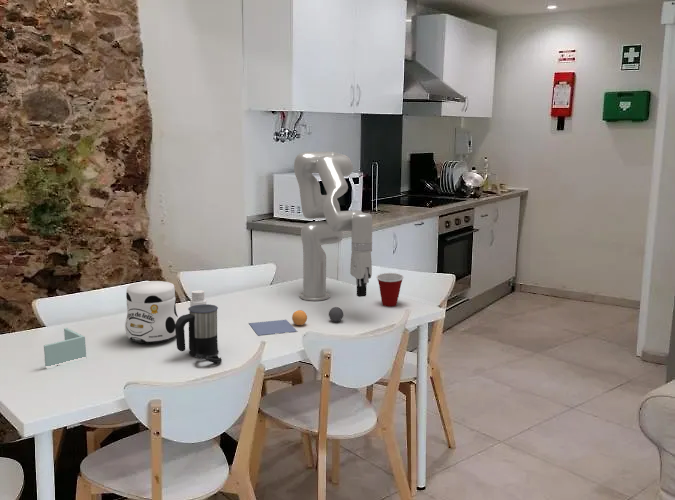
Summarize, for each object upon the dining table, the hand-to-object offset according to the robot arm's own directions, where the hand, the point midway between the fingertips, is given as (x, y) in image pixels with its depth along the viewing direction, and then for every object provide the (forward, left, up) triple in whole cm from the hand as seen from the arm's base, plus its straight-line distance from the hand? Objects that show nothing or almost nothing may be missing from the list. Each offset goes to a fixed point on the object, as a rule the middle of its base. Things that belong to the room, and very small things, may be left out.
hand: (361, 295), depth 240 cm
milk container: (-2, -75, -9) cm, 75 cm away
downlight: (-21, -57, -9) cm, 61 cm away
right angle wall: (+9, -104, -10) cm, 104 cm away
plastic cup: (-15, +18, -9) cm, 25 cm away
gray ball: (-1, -10, -6) cm, 12 cm away
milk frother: (+21, -61, -9) cm, 65 cm away
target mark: (-1, -34, -9) cm, 35 cm away
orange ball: (-1, -24, -6) cm, 25 cm away
